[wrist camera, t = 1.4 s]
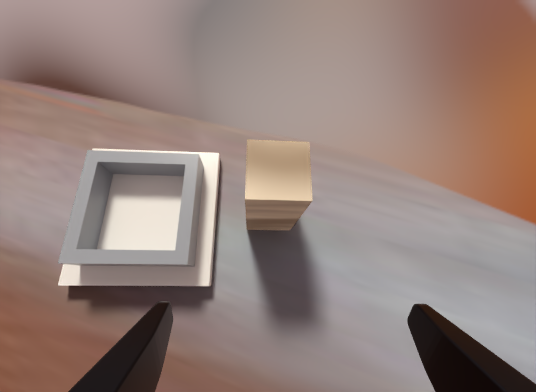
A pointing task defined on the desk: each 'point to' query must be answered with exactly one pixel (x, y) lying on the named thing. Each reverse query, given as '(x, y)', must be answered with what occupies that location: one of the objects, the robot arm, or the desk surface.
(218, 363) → the desk surface
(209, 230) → the square tray
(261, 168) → the block
